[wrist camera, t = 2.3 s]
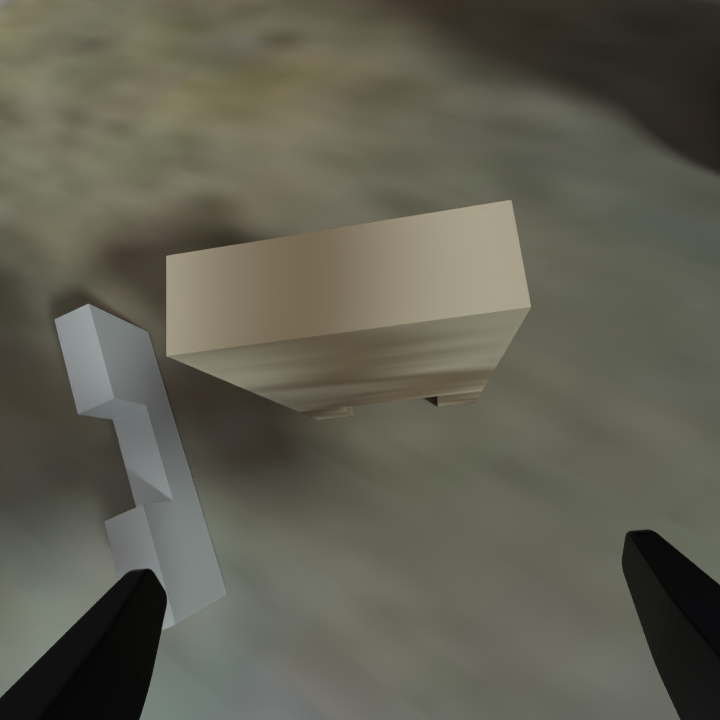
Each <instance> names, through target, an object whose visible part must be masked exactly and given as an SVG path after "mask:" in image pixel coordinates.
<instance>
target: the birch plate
mask: <svg viewBox="0 0 720 720" xmlns="http://www.w3.org/2000/svg"><path fill="white" fill-rule="evenodd" d="M530 308H531V304H530V298H529V293H528V288H527V282H526V277H525V271H524V266H523V261H522V255H521V250H520V244H519V239H518V234H517V228H516V223H515V217H514V212H513V207H512V201H511V200H508V201H502V202H496V203H489V204H483V205H477V206H471V207H465V208H458V209H452V210H446V211H440V212H434V213H428V214H421V215H415V216H409V217H403V218H397V219H391V220H384V221H378V222H372V223H366V224H360V225H354V226H347V227H341V228H335V229H329V230H323V231H316V232H310V233H304V234H298V235H292V236H286V237H279V238H273V239H267V240H261V241H255V242H249V243H242V244H236V245H230V246H224V247H218V248H211V249H205V250H199V251H193V252H187V253H181V254H174V255H168V256H166V356H167V357H170V358H172V359H175V360H177V361H179V362H182V363H184V364H186V365H189V366H191V367H194V368H196V369H198V370H201V371H203V372H205V373H208V374H210V375H212V376H215V377H217V378H220V379H222V380H224V381H227V382H229V383H231V384H234V385H236V386H239V387H241V388H243V389H246V390H248V391H250V392H253V393H255V394H258V395H260V396H262V397H265V398H267V399H269V400H272V401H274V402H276V403H279V404H281V405H284V406H286V407H288V408H291V409H293V410H295V411H298V412H300V413H303V414H305V415H307V416H310V417H312V418H314V419H317V420H325V419H334V418H343V417H352V416H353V406H357V405H365V404H374V403H383V402H391V401H400V400H409V399H417V398H426V397H435V396H437V404H438V407H441V406H450V405H459V404H468V403H475V402H476V400H477V399H478V397H479V395H480V394H481V392H482V390H483V388H484V387H485V385H486V383H487V382H488V380H489V378H490V376H491V375H492V373H493V371H494V370H495V368H496V366H497V364H498V363H499V361H500V359H501V358H502V356H503V354H504V353H505V351H506V349H507V347H508V346H509V344H510V342H511V341H512V339H513V337H514V335H515V334H516V332H517V330H518V329H519V327H520V325H521V323H522V322H523V320H524V318H525V317H526V315H527V313H528V311H529V310H530Z"/></svg>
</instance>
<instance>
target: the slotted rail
mask: <svg viewBox="0 0 720 720" xmlns="http://www.w3.org/2000/svg"><path fill="white" fill-rule="evenodd" d="M54 320H55V324H56V328H57V332H58V336H59V340H60V344H61V348H62V352H63V356H64V360H65V365H66V369H67V373H68V377H69V381H70V385H71V389H72V393H73V397H74V401H75V405H76V409H77V413H78V415H85V416H91V417H97V418H104V419H110V420H113V422H114V426H115V430H116V434H117V438H118V441H119V445H120V449H121V453H122V456H123V460H124V464H125V468H126V471H127V475H128V479H129V483H130V486H131V490H132V494H133V498H134V501H135V505H136V508H134V509H131V510H129V511H127V512H124V513H122V514H120V515H117V516H115V517H113V518H111V519H108V520H106V521H104V523H105V527H106V531H107V535H108V539H109V543H110V547H111V551H112V555H113V559H114V563H115V567H116V571H117V575H118V579H119V580H120V579H121V578H122V577H123V576H124V575H125V574H126V573H127V572H129V571H131V570H134V569H146V568H148V569H151V570H152V571H153V572H154V573H155V575H156V576H157V578H158V580H159V581H160V583H161V585H162V586H163V588H164V589H165V591H166V594H167V607H166V612H165V616H164V621H163V626H162V630H164V629H167V628H169V627H171V626H174V625H176V624H178V623H179V622H181V621H183V620H184V619H186V618H188V617H189V616H191V615H193V614H194V613H196V612H198V611H200V610H201V609H203V608H205V607H206V606H208V605H210V604H211V603H213V602H215V601H216V600H218V599H220V598H221V597H223V596H225V595H226V594H227V592H226V589H225V586H224V582H223V579H222V576H221V573H220V569H219V566H218V563H217V559H216V556H215V553H214V549H213V546H212V543H211V539H210V536H209V533H208V529H207V526H206V523H205V519H204V516H203V513H202V510H201V506H200V503H199V500H198V496H197V493H196V490H195V486H194V483H193V480H192V476H191V473H190V470H189V466H188V463H187V460H186V457H185V453H184V450H183V447H182V443H181V440H180V437H179V433H178V430H177V427H176V423H175V420H174V417H173V413H172V410H171V407H170V403H169V400H168V397H167V394H166V390H165V387H164V384H163V380H162V377H161V374H160V370H159V367H158V364H157V360H156V357H155V354H154V350H153V347H152V344H151V341H150V337H149V334H148V332H147V331H145V330H143V329H141V328H139V327H137V326H134V325H132V324H130V323H128V322H126V321H124V320H122V319H120V318H118V317H116V316H114V315H112V314H109V313H107V312H105V311H103V310H101V309H99V308H97V307H95V306H93V305H91V304H87V305H85V306H82V307H80V308H78V309H76V310H74V311H72V312H69V313H67V314H65V315H63V316H61V317H59V318H56V319H54Z"/></svg>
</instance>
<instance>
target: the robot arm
mask: <svg viewBox="0 0 720 720" xmlns="http://www.w3.org/2000/svg"><path fill="white" fill-rule="evenodd" d="M622 568H623V573H624V576H625V579H626V582H627V584H628V587H629V590H630V593H631V596H632V599H633V602H634V605H635V608H636V611H637V614H638V616H639V619H640V622H641V625H642V628H643V631H644V634H645V637H646V640H647V643H648V645H649V648H650V651H651V654H652V657H653V659H654V662H655V665H656V667H657V669H658V672H659V674H660V676H661V679H662V681H663V683H664V685H665V687H666V689H667V692H668V694H669V696H670V698H671V700H672V702H673V705H674V707H675V709H676V711H677V713H678V715H679V718H680V720H720V585H719V584H718V583H717V582H716V581H714V580H713V579H712V578H711V577H710V576H708V575H707V574H706V573H705V572H703V571H702V570H701V569H700V568H699V567H697V566H696V565H695V564H694V563H693V562H691V561H690V560H689V559H688V558H687V557H685V556H684V555H683V554H682V553H680V552H679V551H678V550H677V549H676V548H674V547H673V546H672V545H671V544H670V543H668V542H667V541H666V540H665V539H663V538H662V537H661V536H660V535H659V534H657V533H656V532H654V531H652V530H635V531H629V532H628V533H627V534H626V536H625V542H624V549H623V555H622ZM166 607H167V594H166V591H165V589H164V588H163V586H162V585H161V583H160V581H159V580H158V578H157V576H156V575H155V573H154V572H153V571H152V570H151V569H148V568H146V569H134V570H131V571H129V572H127V573H126V574H125V575H124V576H123V577H122V578H121V579H120V580H119V581H118V582H117V583H116V584H115V585H114V586H113V587H112V588H111V589H110V590H109V591H108V592H107V593H106V594H105V595H104V596H103V597H102V598H101V599H100V600H99V601H98V602H97V603H96V604H95V605H94V606H93V607H91V608H90V609H89V610H88V611H87V612H86V613H85V614H84V615H83V616H82V617H81V618H80V619H79V620H78V621H77V622H76V623H75V624H74V625H73V626H72V627H71V628H70V629H69V630H68V631H67V632H66V633H65V634H64V635H63V636H62V637H61V638H60V639H59V640H58V641H57V642H56V643H55V644H54V645H53V646H52V647H51V648H50V649H49V650H48V651H47V652H46V653H45V654H44V655H43V656H42V657H41V658H40V659H39V660H38V661H37V662H36V663H35V664H34V665H33V666H32V667H31V668H30V669H29V670H28V671H27V672H26V673H25V674H24V675H23V676H22V677H21V678H20V679H19V680H18V681H17V682H16V683H15V684H14V685H13V686H12V687H11V688H10V689H9V690H8V691H7V692H6V693H5V694H4V695H3V696H2V697H1V698H0V720H139V719H140V716H141V713H142V709H143V706H144V703H145V700H146V696H147V693H148V689H149V686H150V681H151V677H152V673H153V668H154V664H155V659H156V654H157V650H158V645H159V640H160V635H161V631H162V626H163V621H164V616H165V612H166Z"/></svg>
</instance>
